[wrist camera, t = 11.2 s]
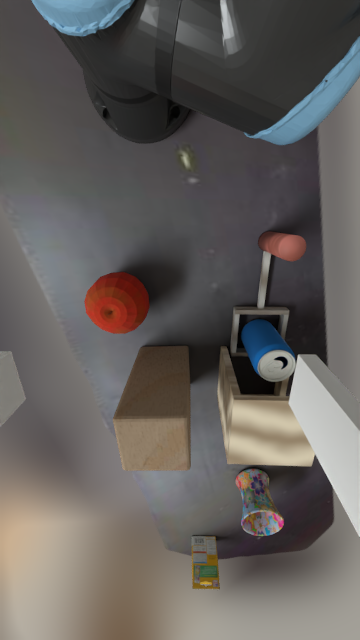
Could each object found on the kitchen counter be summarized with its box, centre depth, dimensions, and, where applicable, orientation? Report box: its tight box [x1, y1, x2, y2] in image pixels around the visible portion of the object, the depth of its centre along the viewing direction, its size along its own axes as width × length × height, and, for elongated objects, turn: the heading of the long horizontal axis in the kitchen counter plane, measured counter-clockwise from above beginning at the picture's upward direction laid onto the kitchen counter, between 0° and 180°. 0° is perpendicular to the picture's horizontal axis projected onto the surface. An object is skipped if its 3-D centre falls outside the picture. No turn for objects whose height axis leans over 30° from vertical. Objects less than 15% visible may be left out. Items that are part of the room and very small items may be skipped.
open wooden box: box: [217, 346, 315, 466], centre depth 44 cm, size 13×13×16 cm
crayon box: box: [192, 536, 220, 589], centre depth 70 cm, size 7×3×12 cm, turn 93°
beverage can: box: [241, 319, 296, 382], centre depth 43 cm, size 6×6×12 cm
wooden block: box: [113, 346, 191, 471], centre depth 43 cm, size 10×10×20 cm
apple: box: [85, 272, 149, 333], centre depth 41 cm, size 10×10×12 cm
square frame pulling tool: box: [230, 231, 306, 357], centre depth 40 cm, size 23×10×11 cm, turn 0°
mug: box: [236, 469, 284, 536], centre depth 60 cm, size 12×9×11 cm
